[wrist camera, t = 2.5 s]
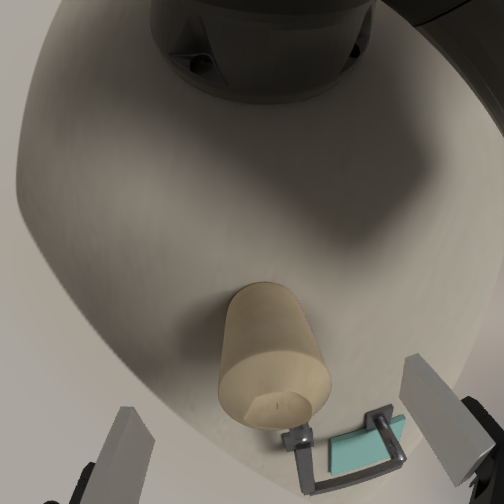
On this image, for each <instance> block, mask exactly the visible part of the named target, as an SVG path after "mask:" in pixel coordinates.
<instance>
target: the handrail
mask: <svg viewBox="0 0 504 504" xmlns="http://www.w3.org/2000/svg"><path fill="white" fill-rule="evenodd" d="M393 408H394V407H393V406H392V404H390V405H387V406H385V407H382V408H379V409H376V410H373V411H370V412H367V413H366V421H365V431H366V432H368V431H371V430H373V429H376V428H377V431H378V433H379V435H380V437H381V439H382V441H383V443H384V445H385V447H386V450H387V452H388V454H389V456H390V458H391V460H389V461H386V462H384V463H381V464H378V465H376V466H373V467H370V468H367V469H364V470H361V471H358V472H354V473H351V474H348V475H344V476H341V477H337V478H333V479H329V480H325V481H321V482H316V483H315V480H314V474H313V463H312V452H311V447H314V442H313V431H312V428H309V425H308V422H307V423H305V424H302V425H300V426H297V427H295V428H290V429H289V430H290V432H289V433H283V438H284V442H285V447H286V451H287V452H289V451H294V454H295V460H296V465H297V471H298V477H299V483H300V488H301V492H302V493H304V495H310V496H312V495H317V494H322V493H326V492H330V491H334V490H338V489H341V488H345V487H349V486H352V485H355V484H358V483H362V482H365V481H368V480H371V479H374V478H376V477H379V476H382V475H385V474H387V473H390V472H392V471H395V470H397V469H400V468H401V467H402V465H403V463H404V462H405V461H406V460H407V458H406V456H405V454H404V452H403V450H402V448H401V446H400V444H399V442H398V440H397V438H396V436H395V434H394V432H393V431H392V429H391V427H390V425H389V424H390V422H391V417H392V413H393Z"/></svg>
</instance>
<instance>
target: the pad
mask: <svg viewBox="0 0 504 504" xmlns="http://www.w3.org/2000/svg"><path fill="white" fill-rule="evenodd" d="M405 420H406V418H405V416H404V415H403V414H402V415H400V416H397V417H395V418H392V419H391V422H390V424H389V425H390V427H391V429H392V431H393V432H394V434H395V436H396V438H397V440H398V442H399V440H400V437H401V433H402V430H403V427H404V423H405ZM389 457H390V456H389V454H388V452H387V450H386V447H385V445H384V443H383V441H382V439H381V437H380V435H379V433H378V431H377V428H376V429H373V430H371V431H368V432H366V431H365V428H364V429H361V430H358V431H355V432H351V433H348V434H344V435H341V436H337V437H333V438H331V458H330V472H331V476H333V475H337V474H341V473H344V472H348V471H351V470H354V469H358V468H361V467H364V466H367V465H370V464H373V463H376V462H378V461H381V460H384V459H386V458H389Z"/></svg>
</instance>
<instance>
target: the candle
mask: <svg viewBox="0 0 504 504" xmlns="http://www.w3.org/2000/svg"><path fill="white" fill-rule="evenodd" d="M331 386H332V383H331V377H330V373H329V371H328V369H327V366H326V364H325V361H324V359H323V357H322V354H321V352H320V350H319V347H318V345H317V343H316V340H315V338H314V335H313V333H312V331H311V328H310V326H309V324H308V322H307V319H306V317H305V315H304V312H303V310H302V308H301V306H300V304H299V302H298V300H297V298H296V297H295V296H294V295H293V293H292V292H290V291H289V290H288V289H287V288H285V287H283V286H281V285H279V284H275V283H270V282H261V283H255V284H252V285H249V286H247V287H245V288H243V289H242V290H241V291H239V292H238V293H237V294H236V295H235V296H234V298H233V299H232V301H231V303H230V305H229V307H228V310H227V315H226V322H225V331H224V340H223V348H222V357H221V367H220V376H219V385H218V398H219V402H220V404H221V406H222V408H223V410H224V411H225V412H226V413H227V414H228V415H229V416H230V417H231V418H233V419H234V420H236V421H237V422H239V423H241V424H243V425H246V426H248V427H251V428H255V429H259V430H269V431H270V430H283V429H290V428H295V427H297V426H300V425H302V424H305V423H307V422H308V421H310V419H311V418H312V417H313V416H314V415H315V414H316V413H317V412H318V411H319V410H320V409H321V407H322V406H323V405H324V404H325V402H326V401H327V399H328V397H329V395H330V392H331Z"/></svg>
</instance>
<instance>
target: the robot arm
mask: <svg viewBox="0 0 504 504" xmlns="http://www.w3.org/2000/svg"><path fill="white" fill-rule="evenodd" d="M381 1H383V2H384V3H385V4H387V5H388V6H389V7H391V8H392V9H393V10H394V11H396V12H397V13H398V14H399V15H401V16H402V17H403V18H404V19H405V20H407V21H408V22H409V23H410V24H411V25H412V26H413V27H414V28H415V29H416V30H417V31H419V32H420V33H421V34H422V35H423V36H424V37H425V38H426V39H427V40H428V41H429V42H430V43H431V44H432V45H433V46H434V47H435V48H436V49H437V50H438V51H439V52H440V53H441V54H442V55H443V56H444V57H445V58H446V60H447V61H448V62H449V63H450V64H451V65H452V66H453V67H454V69H455V70H456V71H457V72H458V73H459V75H460V76H461V77H462V78H463V79H464V81H465V82H466V83H467V84H468V86H469V87H470V88H471V90H472V91H473V92H474V93H475V95H476V96H477V98H478V99H479V100H480V102H481V103H482V105H483V106H484V107H485V109H486V110H487V112H488V113H489V115H490V116H491V118H492V119H493V121H494V122H495V124H496V126H497V127H498V129H499V131H500V132H501V134H502V136H503V137H504V0H381ZM375 4H376V0H151V16H150V23H151V30H152V34H153V37H154V40H155V43H156V45H157V47H158V49H159V50H160V52H161V53H162V55H163V56H164V58H165V59H166V61H167V62H168V64H169V65H170V66H171V68H172V69H173V70H174V71H175V72H176V73H177V74H178V75H179V76H180V77H181V78H183V79H184V80H185V81H187V82H188V83H190V84H191V85H193V86H194V87H196V88H198V89H200V90H202V91H204V92H206V93H208V94H211V95H214V96H216V97H220V98H223V99H226V100H231V101H235V102H241V103H248V104H281V103H289V102H294V101H299V100H303V99H306V98H309V97H312V96H315V95H317V94H319V93H322V92H323V91H325V90H327V89H329V88H330V87H332V86H334V85H335V84H336V83H338V82H339V81H340V80H341V79H342V78H343V77H344V76H345V75H346V74H347V73H348V72H350V71H351V70H352V69H353V68H354V66H355V65H356V64H357V63H358V62H359V60H360V59H361V57H362V56H363V54H364V52H365V50H366V48H367V45H368V42H369V38H370V33H371V28H372V22H373V16H374V10H375ZM399 398H400V399H401V401H402V402H403V404H404V405H405V407H406V408H407V410H408V412H409V413H410V415H411V416H412V418H413V419H414V421H415V422H416V424H417V426H418V427H419V429H420V430H421V432H422V433H423V435H424V437H425V438H426V440H427V441H428V443H429V445H430V446H431V448H432V449H433V451H434V453H435V454H436V456H437V458H438V459H439V461H440V462H441V464H442V466H443V467H444V469H445V471H446V472H447V474H448V476H449V477H450V479H451V481H452V483H453V484H454V486H455V487H457V486H459V485H460V484H462V483H463V482H465V481H466V480H468V479H469V478H470V477H471V476H472V474H474V472H475V473H476V475H477V476H476V478H475V479H474V480H473V481H472V482H471V483H470V486H469V487H472V485H473V484H474V488H473V491H472V495H471V499H470V503H469V504H504V430H503V429H502V428H501V427H500V426H499V424H498V423H497V422H496V421H495V420H494V419H493V418H492V416H491V415H489V414H488V412H487V411H486V410H485V409H484V407H483V406H482V405H481V404H480V403H479V402H478V401H477V400H475V399H474V398H472V397H470V396H467V397H465V398H464V399H462V400H459V398H458V397H457V396H456V395H455V394H454V393H453V391H452V390H451V389H450V388H449V387H448V386H447V384H446V383H445V382H444V381H443V380H442V379H441V378H440V377H439V375H438V374H437V373H436V372H435V371H434V370H433V369H432V368H431V367H430V365H429V364H428V363H427V362H426V361H425V360H424V359H423V358H422V357H421V356H420V355H419V353H417V354H414V355H412V356H409V357H406V358H405V363H404V370H403V376H402V383H401V388H400V394H399ZM154 442H155V439H154V438H153V436H152V435H151V433H150V432H149V431H148V429H147V427H146V426H145V424H144V423H143V421H142V420H141V418H140V416H139V415H138V413H137V412H136V410H135V408H134V407H120V410H119V412H118V414H117V416H116V418H115V421H114V423H113V425H112V427H111V429H110V432H109V434H108V436H107V438H106V441H105V443H104V445H103V448H102V450H101V453H100V455H99V457H98V459H97V462H96V463H93V462H90V463H89V464H88V465H87V466H86V467H85V468H84V469H83V471H82V473H81V476H80V479H79V480H78V483H77V484H78V485H77V486H76V488H75V490H74V492H73V495H72V498H71V500H70V502H69V504H138V503H139V499H140V495H141V491H142V487H143V484H144V480H145V476H146V472H147V468H148V464H149V461H150V457H151V453H152V449H153V446H154ZM44 504H59V503H58V502H56V501H47V502H45V503H44Z"/></svg>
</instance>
